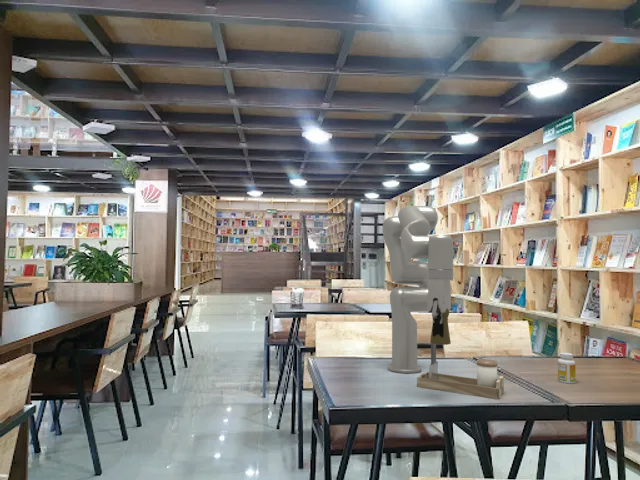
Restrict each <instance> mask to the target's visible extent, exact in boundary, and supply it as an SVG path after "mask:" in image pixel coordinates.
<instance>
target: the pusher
mask: <svg viewBox="0 0 640 480" xmlns="http://www.w3.org/2000/svg"><path fill="white" fill-rule="evenodd" d="M428 369H429V370H428V372H429V379H435V380H438V374H439V361H437V344H433V343H430V363H429V364H428Z"/></svg>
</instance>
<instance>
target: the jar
mask: <svg viewBox="0 0 640 480" xmlns="http://www.w3.org/2000/svg"><path fill="white" fill-rule="evenodd" d="M476 379H477V386H484V387H491V388H496V381H497V380H498V361H497V360H493V359H485V358H481V359H476Z"/></svg>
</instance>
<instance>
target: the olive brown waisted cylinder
mask: <svg viewBox="0 0 640 480" xmlns="http://www.w3.org/2000/svg"><path fill="white" fill-rule="evenodd" d="M440 310H441V308H440ZM437 313H441V312H440V311H437ZM439 316H440V315H439ZM449 316H450V311H449V309H448V308H447V310H446V312H445V313H443V323H442V324H444V336H443V337H441V336H440V335H436V336H435V337H434V336H433V324H432V325H431V326H432V327H431V332H430V334H431V335H430V339H429V340H430V341H429V343H430V344H431V343H433V344H436V345H438V346H439V345H443V346H444V345H445V346H447V345H451V336H450V328H449V327H450V326H449ZM447 317H448V319H447Z"/></svg>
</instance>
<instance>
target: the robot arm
mask: <svg viewBox="0 0 640 480" xmlns="http://www.w3.org/2000/svg"><path fill="white" fill-rule="evenodd" d="M438 221H439V216H438V212H437V211H436V209H435V208H434V207H433V206H430V205H406V206H403V207H402V208H400V209H399V211H398V214H397V215H394V216H389V217H387V218H385V219H384V220H383V222H382V236H383V240H384V243H385V245H386V248H387V251H388V255H389V256H388V257H389V264H390V265H389V266H390V275H391V279H392V282H393V283H394V284H395V285H396V284H397V285H406V286H397V287H395V288H393V289H392V290H391V291H390V293H389V303H390V310H391V363H390V364H388V365H387V369H388V370H389V371H391V372H394V373H398V374H399V373H401V374H414V373H415V374H416V373H420V372H422V367H421V365H418V359H419V358H418V323H417V321H416V319H415V318H414V316H413V315H412V313H415V312H419V313H420V312H424V313H425V312H428V313H429V314H430V313H431V316H432V322H431V323H432V325H433V336H434V337H435V336H436V335H440V336H441V337H443V336H444V324H442V323H443V313H445V312H446V310H447V308H448V309H449V312H450V311H451V307H452V292H451V291H452V288H451V287H452V285H451V281H454V239H453V237H452V236H451V235H447V234H445V235H444V234H435V235H429V234H430V233H431V231H433V230H434V229H435V227H436V226H437V224H438ZM413 259H415V260H413ZM417 259H419V260H417ZM421 259H422V260H421ZM424 260H427V261H424ZM407 285H409V286H407ZM412 285H413V286H412ZM417 285H418V286H417ZM440 308H441V310H440ZM437 311H440V312H441V313H437ZM439 315H440V316H439ZM447 319H448V320H449V316H448V317H447Z"/></svg>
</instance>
